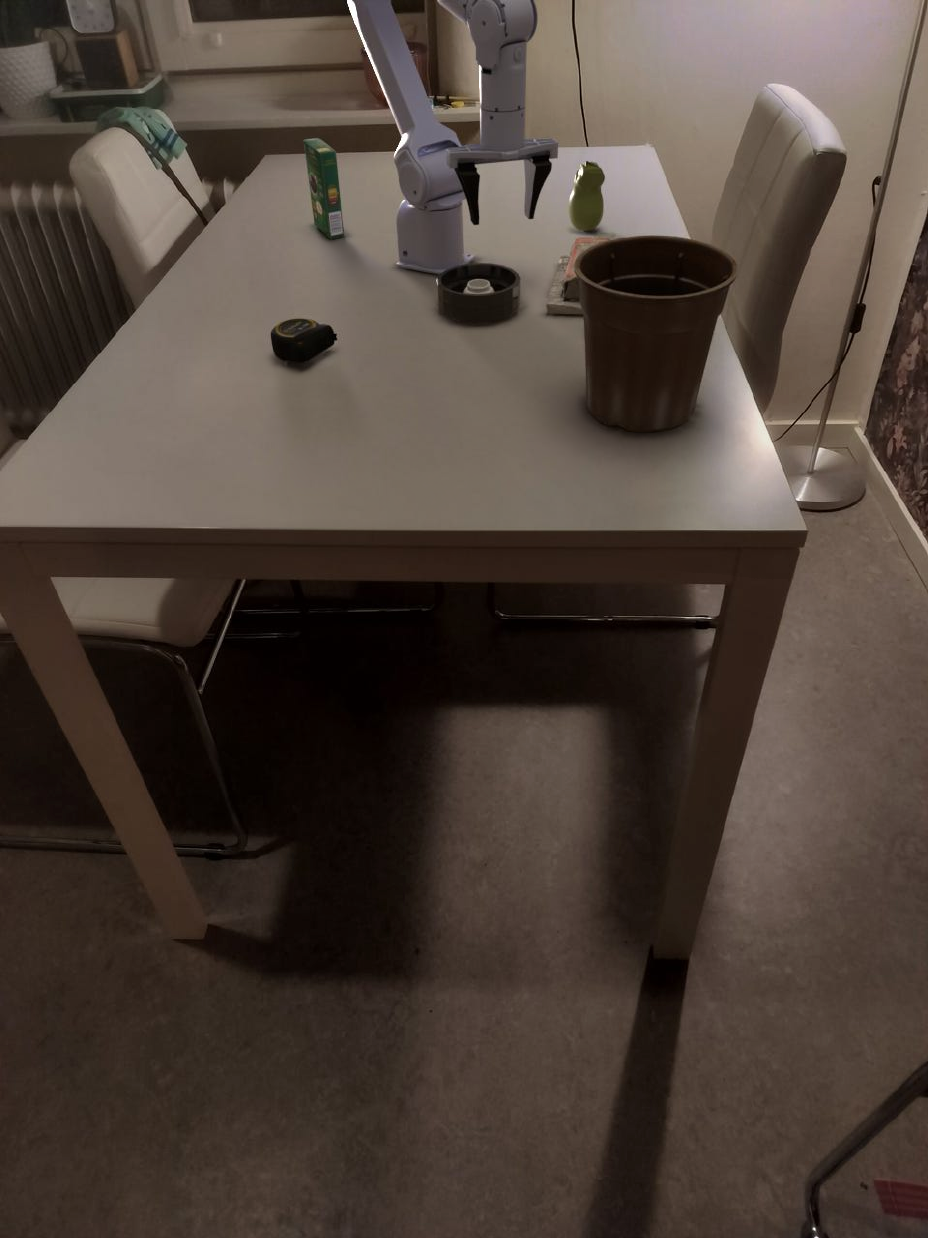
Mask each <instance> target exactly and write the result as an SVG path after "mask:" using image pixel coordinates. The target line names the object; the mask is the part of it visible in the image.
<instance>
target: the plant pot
mask: <svg viewBox="0 0 928 1238" xmlns="http://www.w3.org/2000/svg"><path fill="white" fill-rule="evenodd" d="M574 270H575V274H576V276H577V277H578V279H579V291H580V305H581V308H582V309H583V314H582V315H583V317H582V318H583V335H584V336H583V337H584V338H583V339H584V362H585V363H584V365H585V402H586V407H587V409H588V411H589V412H590V414H591V415H592V416H593V417H594V418H595V419H596V420H598V421H599V422H600V423H603V425H606V426H608V427H613V426H616V425H617V426H620V427H622V428H624V429H625V430H626V431H628V432H636V433H638V432H640V433H647V432H648V433H650V432H651V433H652V432H659V431H664V430H669V429H673V428H675V427H678V426H680V425H682V424H683V423H685V422H687V420H688V419H689V417H690V416H691V414H693V413H694V412H695V409H696V405H697V400H698V396H699V392H700V387H701V384H702V381H703V375H704V373H705V368H706V365H707V360H708V357H709V353H710V349H711V346H712V342H713V337H714V333H715V329H716V326H717V323H718V319H719V316H721V314H722V313H723V311H724V308H725V304H726V301H727V297H728V294H729V290H730V288H731V285H732V284H733V283H734V282H735V281H736V278H737V277H738V272H739V265H738V263H737V261H736V260H735V258H734V257H733V256H732V255H730V254H729V253H728V252H726V251H725V250H723V249H721V248H719V247H717V246H714V245H712V244H709V243H707V242H703V241H700V240H695V239H693V238H692V239H691V238H686V237H681V236H672V235H671V236H670V235H654V234H653V235H635V236H627V237H626V236H625V237H619V238H613V239H611V240H608V241H605V242H602V243H599V244H596V245H594V246H592V247H590V248H588V249H586V250H585V251H583V252H582V253H581V254H580V255H579V256H578V257H577V258H576V260H575V263H574Z"/></svg>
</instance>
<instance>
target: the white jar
mask: <svg viewBox="0 0 928 1238" xmlns="http://www.w3.org/2000/svg"><path fill="white" fill-rule="evenodd" d="M492 292H494V290H493V288H492V287H491V286H490V282H489V281H487V280H484V279H475V280H471V281H469V282H468V284H467V287H466V288H465V290H464V292H463V293H469V294H483V293H492Z"/></svg>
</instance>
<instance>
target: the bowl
mask: <svg viewBox="0 0 928 1238" xmlns="http://www.w3.org/2000/svg"><path fill="white" fill-rule="evenodd" d="M475 279H484V280H487V281H489V282H490V286H491V287H492V288H493V290H494V292H492V293H483V294H469V293H463V292H464V290H465V288H466V287H467V284H468V282H469V281H471V280H475ZM521 279H522V278H521V276H520V274H519V272H517V271H516V270H515V269H514V268H512V267H508V266H506V265H502V264H498V263H497V264H496V263H489V262H487V263H486V262H473V263H468V264H464V265H459V266H455V267H452V268H449V269H447V270H445V271H443V272H442V273H440V274H438V276H437V278H436V280H435V281H436V284H435V285H436V303H437V304H436V305H437V308H438V311H439V312H440V313H441V314H442V315H443V316H445V317H447V318H450V319H452V320H455V321H457V322H461V323H469V324H485V323H487V324H488V323H492V322H497V321H500V320H502V319H506V318H508V317H510V316H512V315H514V314H515V313H516V312H517V311H518V310H519V309H520V305H521Z"/></svg>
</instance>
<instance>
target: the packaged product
mask: <svg viewBox="0 0 928 1238" xmlns="http://www.w3.org/2000/svg"><path fill="white" fill-rule="evenodd" d="M608 240H612V239H611V238H609V237H590V236H589V237H586V236H585V237H584V236H583V237H579V236H578V237H575V238H574V241H573V245H572V246H571V250H570V252H569V253H570V254H569V256H568V255H567V254H566V255H562V256H560V258H559V262H558V265H557V268H556V272H555V275H554V278H553V281H552V285H551V288H550V291H549V294H548V298H547V301H546V312H547V314H552V315H553V314H556V315H557V314H559V315H560V314H561V315H583V309H582V308H581V305H580V291H579V279H578V277H577V276H576V274H575V270H574V263H575V260H576V258H577V257H578V256H579V255H580V254H581V253H582V252H583V251H585V250H586V249H588V248H590V247H592V246H594V245H596V244H599V243H602V242H605V241H608Z"/></svg>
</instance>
